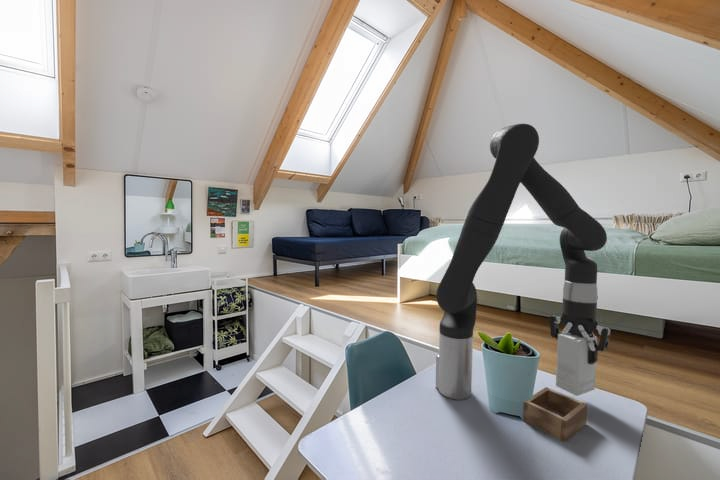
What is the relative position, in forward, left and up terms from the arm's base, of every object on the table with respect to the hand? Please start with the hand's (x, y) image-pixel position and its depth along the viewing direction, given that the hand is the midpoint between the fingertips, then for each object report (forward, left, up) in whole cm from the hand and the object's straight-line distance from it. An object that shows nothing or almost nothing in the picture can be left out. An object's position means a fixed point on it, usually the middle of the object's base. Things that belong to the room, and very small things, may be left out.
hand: (576, 358), depth 85 cm
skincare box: (0, -1, -8) cm, 8 cm away
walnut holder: (+1, -14, -12) cm, 19 cm away
